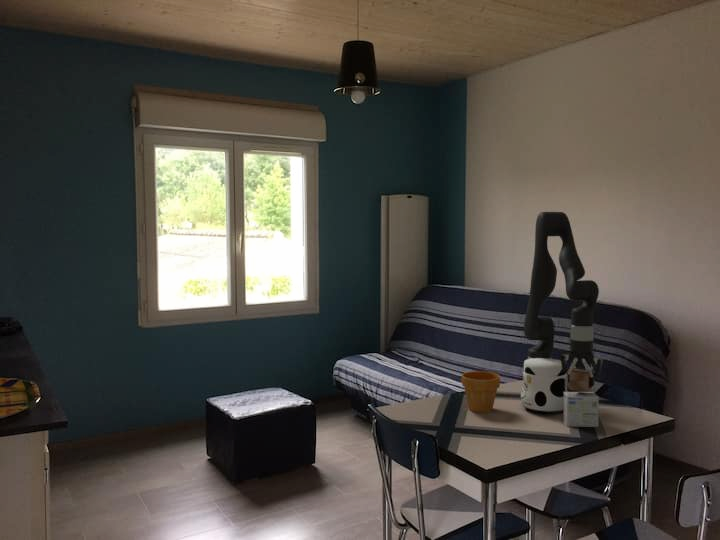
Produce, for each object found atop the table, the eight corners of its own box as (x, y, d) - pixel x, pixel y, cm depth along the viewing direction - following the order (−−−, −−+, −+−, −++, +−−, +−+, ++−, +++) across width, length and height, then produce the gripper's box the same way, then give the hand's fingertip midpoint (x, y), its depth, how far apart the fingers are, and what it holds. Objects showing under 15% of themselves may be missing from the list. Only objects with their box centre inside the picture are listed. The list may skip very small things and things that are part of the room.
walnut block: (569, 389, 211) (569, 372, 211) (574, 385, 216) (574, 368, 216) (587, 391, 208) (587, 374, 208) (592, 388, 213) (592, 371, 212)
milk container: (511, 405, 236) (512, 359, 234) (549, 401, 241) (550, 356, 240) (538, 418, 219) (539, 369, 218) (578, 413, 225) (579, 365, 224)
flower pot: (507, 410, 229) (508, 376, 229) (481, 417, 221) (481, 382, 221) (480, 401, 241) (480, 369, 240) (453, 408, 233) (453, 374, 232)
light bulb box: (593, 421, 216) (594, 391, 215) (599, 427, 209) (599, 396, 208) (562, 420, 217) (562, 390, 216) (566, 426, 210) (567, 396, 209)
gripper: (557, 337, 212) (556, 385, 213) (600, 341, 204) (599, 391, 205) (563, 334, 218) (563, 381, 219) (606, 338, 210) (605, 386, 211)
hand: (580, 385), depth 212 cm, fingers closed on walnut block, 6 cm apart
